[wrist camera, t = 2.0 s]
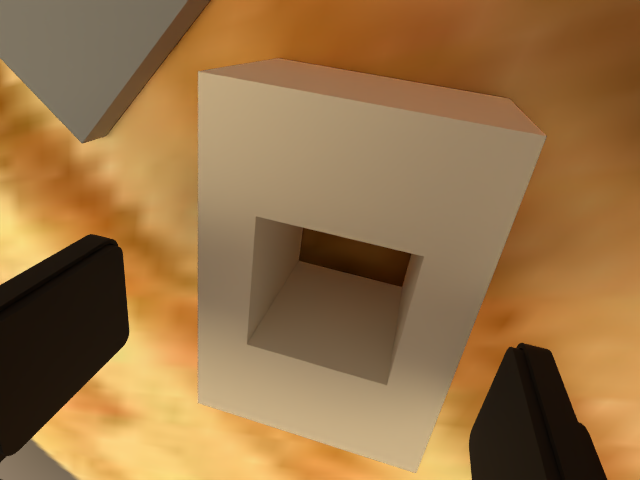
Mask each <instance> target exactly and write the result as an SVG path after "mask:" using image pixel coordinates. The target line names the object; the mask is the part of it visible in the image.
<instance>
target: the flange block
mask: <svg viewBox="0 0 640 480" xmlns="http://www.w3.org/2000/svg"><path fill="white" fill-rule="evenodd" d="M546 137H547V136H546V135H545V134H544V133H543V132H542V131H541V130H540V129H539V128H538V127H537V126H536V125H535V124H534V123H533V122H532V121H531V120H530V119H529V118H528V117H527V116H526V115H525V114H524V113H523V112H522V111H521V110H520V109H519V108H518V107H517V106H516V105H515V104H514V103H513V102H512V101H511V100H510V99H509V98H504V97H498V96H492V95H487V94H481V93H475V92H469V91H464V90H458V89H452V88H447V87H441V86H435V85H429V84H424V83H418V82H412V81H406V80H401V79H395V78H389V77H384V76H378V75H372V74H366V73H361V72H355V71H349V70H343V69H338V68H332V67H326V66H320V65H315V64H309V63H303V62H298V61H292V60H286V59H280V58H275V59H269V60H263V61H257V62H251V63H245V64H239V65H233V66H227V67H221V68H215V69H209V70H203V71H198V403H200V404H203V405H206V406H209V407H212V408H215V409H218V410H221V411H225V412H228V413H231V414H234V415H237V416H240V417H243V418H246V419H249V420H252V421H256V422H259V423H262V424H265V425H268V426H271V427H274V428H277V429H280V430H283V431H287V432H290V433H293V434H296V435H299V436H302V437H305V438H308V439H311V440H314V441H318V442H321V443H324V444H327V445H330V446H333V447H336V448H339V449H342V450H345V451H349V452H352V453H355V454H358V455H361V456H364V457H367V458H370V459H373V460H376V461H380V462H383V463H386V464H389V465H392V466H395V467H398V468H401V469H404V470H407V471H411V472H414V473H416V472H417V470H418V467H419V464H420V462H421V459H422V457H423V454H424V452H425V449H426V446H427V444H428V441H429V439H430V436H431V434H432V431H433V428H434V426H435V423H436V421H437V418H438V415H439V413H440V410H441V408H442V405H443V403H444V400H445V397H446V395H447V392H448V390H449V387H450V385H451V382H452V379H453V377H454V374H455V372H456V369H457V366H458V364H459V361H460V359H461V356H462V354H463V351H464V348H465V346H466V343H467V341H468V338H469V336H470V333H471V330H472V328H473V325H474V323H475V320H476V317H477V315H478V312H479V310H480V307H481V305H482V302H483V299H484V297H485V294H486V292H487V289H488V287H489V284H490V281H491V279H492V276H493V274H494V271H495V268H496V266H497V263H498V261H499V258H500V256H501V253H502V250H503V248H504V245H505V243H506V240H507V238H508V235H509V232H510V230H511V227H512V225H513V222H514V219H515V217H516V214H517V212H518V209H519V207H520V204H521V201H522V199H523V196H524V194H525V191H526V189H527V186H528V183H529V181H530V178H531V176H532V173H533V171H534V168H535V165H536V163H537V160H538V158H539V155H540V152H541V150H542V147H543V145H544V142H545V140H546ZM303 228H307V229H311V230H315V231H320V232H324V233H328V234H332V235H336V236H340V237H345V238H349V239H353V240H357V241H361V242H365V243H370V244H374V245H378V246H382V247H386V248H390V249H395V250H399V251H403V252H407V253H411V257H410V261H409V264H408V268H407V272H406V275H405V279H404V283H403V286H402V287H400V286H396V285H392V284H388V283H384V282H380V281H376V280H373V279H369V278H365V277H361V276H357V275H353V274H349V273H345V272H341V271H337V270H333V269H329V268H325V267H321V266H317V265H313V264H309V263H305V262H302V261H299V256H300V248H301V240H302V233H303Z"/></svg>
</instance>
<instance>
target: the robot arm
mask: <svg viewBox="0 0 640 480" xmlns="http://www.w3.org/2000/svg"><path fill="white" fill-rule="evenodd" d="M128 336H129V322H128V310H127V298H126V286H125V274H124V262H123V252H122V249H121V248H120V247H118V244H117V242H116V241H115V240H113V239H110V238H106V237H102V236H98V235H93V234H90V235H87V236H85V237H84V238H82V239H80V240H78V241H77V242H75V243H73V244H71V245H70V246H68V247H66V248H64V249H63V250H61V251H59V252H57V253H56V254H54V255H52V256H50V257H49V258H47V259H45V260H43V261H42V262H40V263H38V264H36V265H35V266H33V267H31V268H29V269H28V270H26V271H24V272H22V273H21V274H19V275H17V276H15V277H14V278H12V279H10V280H8V281H7V282H5V283H3V284H1V285H0V462H1V461H2V460H3V459H4V458H5V457H6V456H10V455H13V454H15V453H16V452H17V451H19V450H20V449H21V448H22V447H23V446H24V445H25V444H26V443H27V442H28V441H29V440H30V439H31V438H32V437H33V436H34V435H35V434H36V433H37V432H38V431H39V430H40V429H41V428H42V427H43V426H44V425H45V424H46V423H47V422H48V421H49V420H50V419H51V418H52V417H53V416H54V415H55V414H56V413H57V412H58V411H59V410H60V409H61V408H62V407H63V406H64V405H65V404H66V403H67V402H68V401H69V400H70V399H71V398H72V397H73V396H74V395H75V394H76V393H77V392H78V391H79V390H80V389H81V388H82V387H83V386H84V385H85V384H86V383H87V382H88V381H89V380H90V379H91V378H92V377H93V376H94V375H95V374H96V373H97V372H98V371H99V370H100V369H101V368H102V367H103V366H104V365H105V364H106V363H107V362H108V361H109V360H110V359H111V358H112V357H113V356H114V355H115V354H116V353H117V352H118V351H119V350H120V349H121V348H122V347H123V346H124V345H125V343H126V341H127V339H128ZM469 452H470V463H471V474H472V480H607V478H606V475H605V473H604V470H603V467H602V465H601V462H600V460H599V457H598V455H597V452H596V450H595V447H594V445H593V442H592V440H591V437H590V435H589V433H588V431H587V429H586V427H585V426H584V425H582V424H581V423H579V422H578V421H577V418H576V415H575V413H574V410H573V408H572V405H571V402H570V400H569V397H568V394H567V392H566V389H565V387H564V384H563V381H562V379H561V376H560V373H559V371H558V368H557V365H556V363H555V360H554V358H553V355H552V353H551V351H550V350H548V349H544V348H540V347H536V346H532V345H528V344H524V343H520V344H519V345H518V346H517V348H513V347H509V348H508V349H507V351H506V353H505V355H504V358H503V360H502V362H501V364H500V367H499V369H498V371H497V374H496V376H495V378H494V380H493V383H492V385H491V387H490V389H489V392H488V394H487V396H486V398H485V401H484V403H483V405H482V408H481V410H480V412H479V414H478V417H477V419H476V421H475V423H474V426H473V428H472V430H471V434H470V439H469ZM0 480H2V479H0Z"/></svg>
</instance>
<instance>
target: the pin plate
mask: <svg viewBox="0 0 640 480" xmlns="http://www.w3.org/2000/svg"><path fill="white" fill-rule="evenodd" d="M209 1H210V0H0V58H1V59H2V60H3V61H4V63H5V64H6V65H7V66H8V67H9V68H10V69H11V70H12V71H13V72H14V73H15V74H16V75H17V76H18V77H19V78H20V79H21V80H22V81H23V82H24V83H25V84H26V86H27V87H28V88H29V89H30V90H31V91H32V92H33V93H34V94H35V95H36V96H37V97H38V98H39V99H40V100H41V101H42V102H43V103H44V104H45V105H46V106H47V107H48V108H49V110H50V111H51V112H52V113H53V114H54V115H55V116H56V117H57V118H58V119H59V120H60V121H61V122H62V123H63V124H64V125H65V126H66V127H67V128H68V129H69V130H70V131H71V132H72V134H73V135H74V136H75V137H76V138H77V139H78V140H79V141H80V142H81V143H85V142H89V141H92V140H95V139H98V138H101V137H104V136H106V135H107V134H108V132H109V131H110V130H111V128H112V127H113V126H114V124H115V123H116V122H117V121H118V119H119V118H120V117H121V115H122V114H123V113H124V111H125V110H126V109H127V108H128V106H129V105H130V104H131V102H132V101H133V100H134V98H135V97H136V96H137V95H138V93H139V92H140V91H141V89H142V88H143V87H144V86H145V84H146V83H147V82H148V80H149V79H150V78H151V76H152V75H153V74H154V73H155V71H156V70H157V69H158V67H159V66H160V65H161V63H162V62H163V61H164V60H165V58H166V57H167V56H168V54H169V53H170V52H171V50H172V49H173V48H174V47H175V45H176V44H177V43H178V41H179V40H180V39H181V38H182V36H183V35H184V34H185V32H186V31H187V30H188V28H189V27H190V26H191V25H192V23H193V22H194V21H195V19H196V18H197V17H198V15H199V14H200V13H201V12H202V10H203V9H204V8H205V6H206V5H207V4H208V2H209Z"/></svg>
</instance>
